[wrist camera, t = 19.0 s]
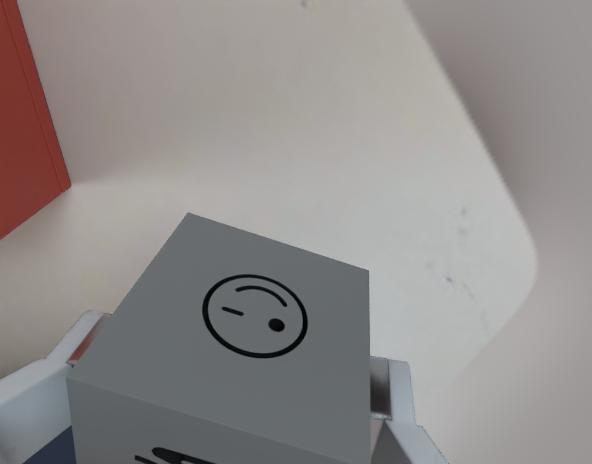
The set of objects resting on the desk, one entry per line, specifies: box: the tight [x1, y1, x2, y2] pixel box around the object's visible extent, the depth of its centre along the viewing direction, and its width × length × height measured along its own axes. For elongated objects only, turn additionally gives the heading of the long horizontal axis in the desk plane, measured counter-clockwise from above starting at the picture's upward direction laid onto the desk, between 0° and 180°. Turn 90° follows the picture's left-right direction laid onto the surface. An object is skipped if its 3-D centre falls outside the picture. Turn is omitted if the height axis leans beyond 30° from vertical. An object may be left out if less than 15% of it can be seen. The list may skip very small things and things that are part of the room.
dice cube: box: [66, 213, 371, 464], centre depth 10 cm, size 5×5×5 cm
